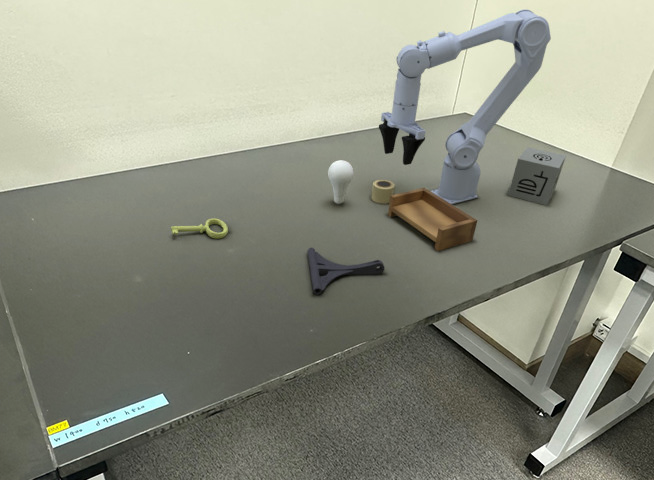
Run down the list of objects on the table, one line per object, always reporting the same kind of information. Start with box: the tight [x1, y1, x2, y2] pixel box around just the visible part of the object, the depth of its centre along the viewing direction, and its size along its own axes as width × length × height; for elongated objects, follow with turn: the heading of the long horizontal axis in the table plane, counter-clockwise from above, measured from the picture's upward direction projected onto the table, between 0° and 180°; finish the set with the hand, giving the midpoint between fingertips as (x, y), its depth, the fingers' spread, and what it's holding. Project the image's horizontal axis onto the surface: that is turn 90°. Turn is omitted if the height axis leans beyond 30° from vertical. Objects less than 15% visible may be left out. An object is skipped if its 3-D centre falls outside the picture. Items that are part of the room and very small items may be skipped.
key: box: [170, 217, 229, 239], centre depth 116 cm, size 7×12×2 cm, turn 126°
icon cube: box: [507, 146, 567, 206], centre depth 138 cm, size 10×10×10 cm
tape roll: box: [370, 179, 396, 205], centre depth 133 cm, size 5×5×4 cm
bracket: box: [307, 247, 385, 296], centre depth 106 cm, size 14×15×3 cm
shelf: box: [387, 187, 478, 252], centre depth 122 cm, size 10×18×5 cm, turn 31°
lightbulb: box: [327, 159, 355, 205], centre depth 128 cm, size 6×6×11 cm
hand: (397, 158), depth 132 cm, fingers open, 7 cm apart
